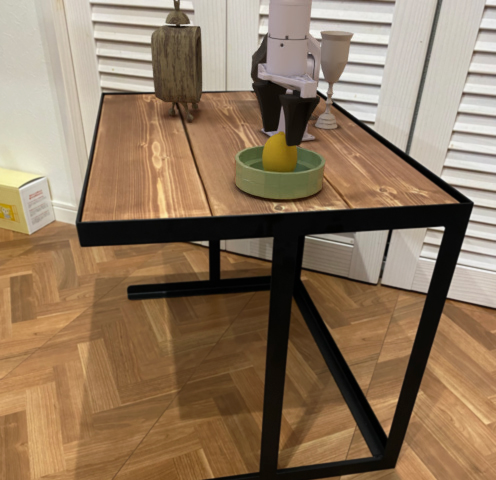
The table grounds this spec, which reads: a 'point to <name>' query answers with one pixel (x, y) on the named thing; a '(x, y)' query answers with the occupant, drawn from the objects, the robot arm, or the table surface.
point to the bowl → (279, 175)
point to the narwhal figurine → (261, 60)
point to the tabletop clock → (177, 62)
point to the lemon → (279, 154)
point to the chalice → (332, 68)
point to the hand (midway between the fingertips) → (281, 137)
